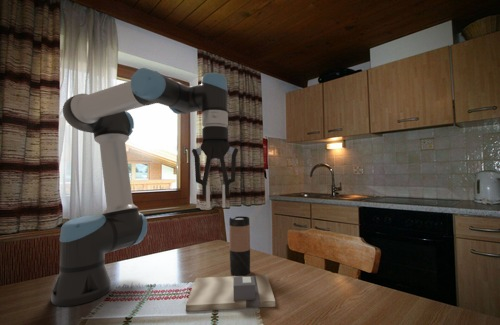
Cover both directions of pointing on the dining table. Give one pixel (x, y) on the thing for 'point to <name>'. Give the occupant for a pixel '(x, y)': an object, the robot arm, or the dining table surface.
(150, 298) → the dining table surface
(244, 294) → the grey small block
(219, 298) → the panel
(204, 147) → the robot arm
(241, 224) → the travel mug
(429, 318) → the dining table surface
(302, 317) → the dining table surface
